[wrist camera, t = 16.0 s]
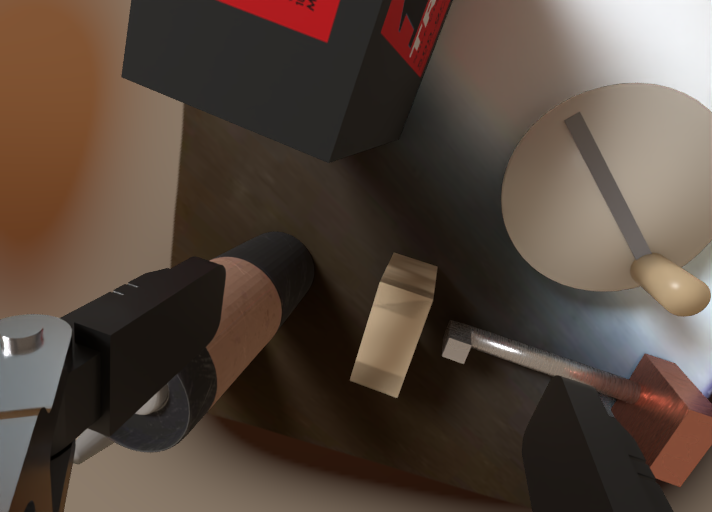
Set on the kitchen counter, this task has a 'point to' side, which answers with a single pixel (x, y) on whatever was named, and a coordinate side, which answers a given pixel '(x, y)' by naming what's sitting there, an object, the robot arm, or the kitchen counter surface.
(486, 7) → the kitchen counter surface
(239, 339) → the travel mug
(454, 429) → the kitchen counter surface
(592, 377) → the hook rod
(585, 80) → the kitchen counter surface
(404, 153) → the kitchen counter surface
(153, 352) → the robot arm
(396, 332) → the block
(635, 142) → the handwheel
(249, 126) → the cleaning product box
